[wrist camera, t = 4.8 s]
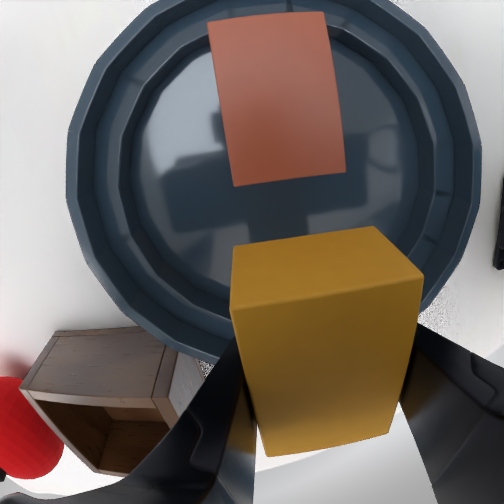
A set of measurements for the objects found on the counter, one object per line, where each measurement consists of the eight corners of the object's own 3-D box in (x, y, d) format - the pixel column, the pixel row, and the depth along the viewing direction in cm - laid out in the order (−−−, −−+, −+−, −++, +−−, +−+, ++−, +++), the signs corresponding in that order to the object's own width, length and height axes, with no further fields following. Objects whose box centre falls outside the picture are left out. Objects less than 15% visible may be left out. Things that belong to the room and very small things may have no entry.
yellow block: (373, 224, 8) (425, 274, 6) (364, 373, 11) (388, 434, 8) (232, 244, 8) (228, 308, 6) (261, 391, 11) (266, 458, 8)
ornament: (74, 382, 20) (29, 487, 10) (80, 434, 23) (53, 516, 14) (-12, 338, 18) (-70, 419, 9) (6, 398, 21) (-31, 469, 12)
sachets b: (307, 31, 11) (323, 11, 8) (325, 160, 13) (346, 172, 10) (214, 41, 11) (206, 21, 8) (235, 172, 13) (233, 187, 11)
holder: (185, 321, 17) (167, 397, 12) (221, 419, 21) (218, 482, 16) (55, 331, 17) (17, 388, 12) (110, 419, 21) (93, 472, 16)
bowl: (420, 6, 10) (457, -11, 7) (430, 300, 17) (457, 333, 14) (77, 45, 11) (38, 34, 8) (154, 343, 18) (140, 385, 15)
